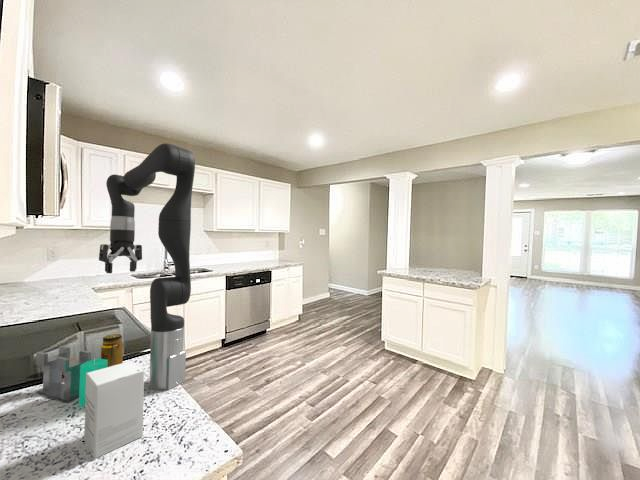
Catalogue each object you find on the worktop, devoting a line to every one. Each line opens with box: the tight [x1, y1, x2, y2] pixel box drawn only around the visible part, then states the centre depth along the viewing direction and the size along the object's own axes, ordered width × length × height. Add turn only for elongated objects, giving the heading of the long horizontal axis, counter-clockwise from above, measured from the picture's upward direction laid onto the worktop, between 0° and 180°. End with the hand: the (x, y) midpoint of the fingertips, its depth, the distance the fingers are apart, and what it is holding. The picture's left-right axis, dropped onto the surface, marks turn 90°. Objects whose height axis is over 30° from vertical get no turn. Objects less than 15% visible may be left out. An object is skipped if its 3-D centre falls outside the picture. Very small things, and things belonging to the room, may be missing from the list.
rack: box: [35, 345, 92, 404], centre depth 81 cm, size 14×6×12 cm, turn 69°
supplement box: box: [83, 360, 145, 459], centre depth 62 cm, size 9×9×15 cm
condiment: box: [100, 333, 124, 367], centre depth 96 cm, size 7×8×12 cm
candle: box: [78, 356, 108, 408], centre depth 77 cm, size 6×6×12 cm
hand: (121, 272), depth 104 cm, fingers open, 8 cm apart
